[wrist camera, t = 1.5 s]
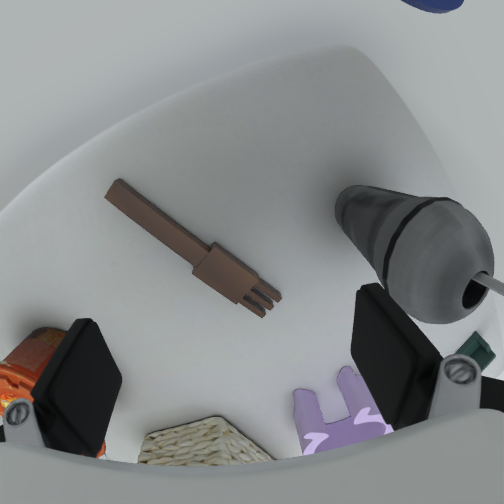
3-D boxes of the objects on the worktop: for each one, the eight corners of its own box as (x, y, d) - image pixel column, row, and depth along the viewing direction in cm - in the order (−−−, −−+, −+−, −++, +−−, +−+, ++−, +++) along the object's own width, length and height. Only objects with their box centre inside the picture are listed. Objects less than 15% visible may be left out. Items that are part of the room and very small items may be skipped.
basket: (132, 428, 35) (117, 510, 21) (223, 403, 33) (227, 507, 19) (217, 482, 43) (219, 543, 30) (292, 463, 42) (306, 530, 28)
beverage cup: (306, 231, 25) (443, 418, 7) (339, 156, 23) (559, 225, 4) (370, 256, 27) (509, 404, 8) (401, 189, 24) (583, 282, 6)
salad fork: (124, 171, 22) (119, 173, 21) (281, 292, 27) (284, 298, 26) (105, 201, 23) (99, 204, 22) (259, 314, 28) (261, 321, 27)
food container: (72, 410, 33) (52, 462, 23) (4, 332, 27) (-34, 381, 17) (147, 395, 32) (133, 465, 22) (67, 297, 26) (18, 361, 16)
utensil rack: (475, 330, 34) (493, 348, 29) (479, 339, 35) (496, 356, 30) (413, 392, 37) (426, 413, 32) (421, 397, 38) (433, 417, 33)
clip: (388, 419, 39) (403, 449, 33) (323, 449, 40) (332, 481, 34) (365, 355, 32) (387, 395, 25) (275, 398, 33) (283, 442, 27)
